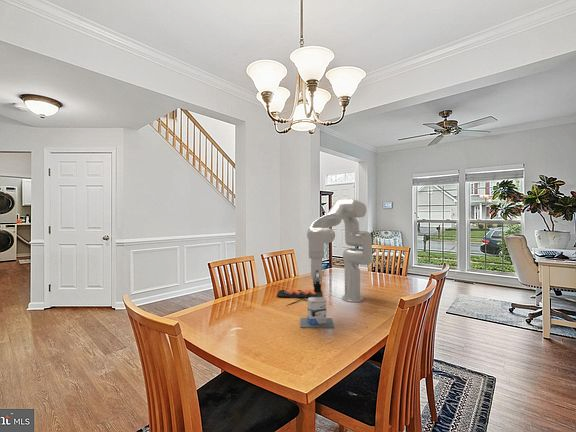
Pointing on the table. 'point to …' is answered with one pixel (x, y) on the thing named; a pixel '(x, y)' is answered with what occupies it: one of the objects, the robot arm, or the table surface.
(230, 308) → the table surface
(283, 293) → the sushi plate
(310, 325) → the mat
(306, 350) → the table surface
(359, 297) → the robot arm
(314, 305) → the ink box
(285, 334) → the table surface
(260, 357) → the table surface
